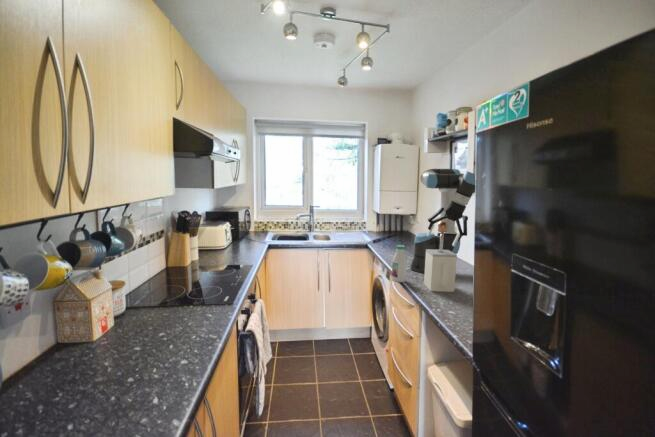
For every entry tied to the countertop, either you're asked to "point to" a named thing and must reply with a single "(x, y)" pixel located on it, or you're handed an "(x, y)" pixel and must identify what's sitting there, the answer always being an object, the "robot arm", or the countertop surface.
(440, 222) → the plunger
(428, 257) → the beige rectangular box
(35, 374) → the countertop surface
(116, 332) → the countertop surface
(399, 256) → the milk bottle
